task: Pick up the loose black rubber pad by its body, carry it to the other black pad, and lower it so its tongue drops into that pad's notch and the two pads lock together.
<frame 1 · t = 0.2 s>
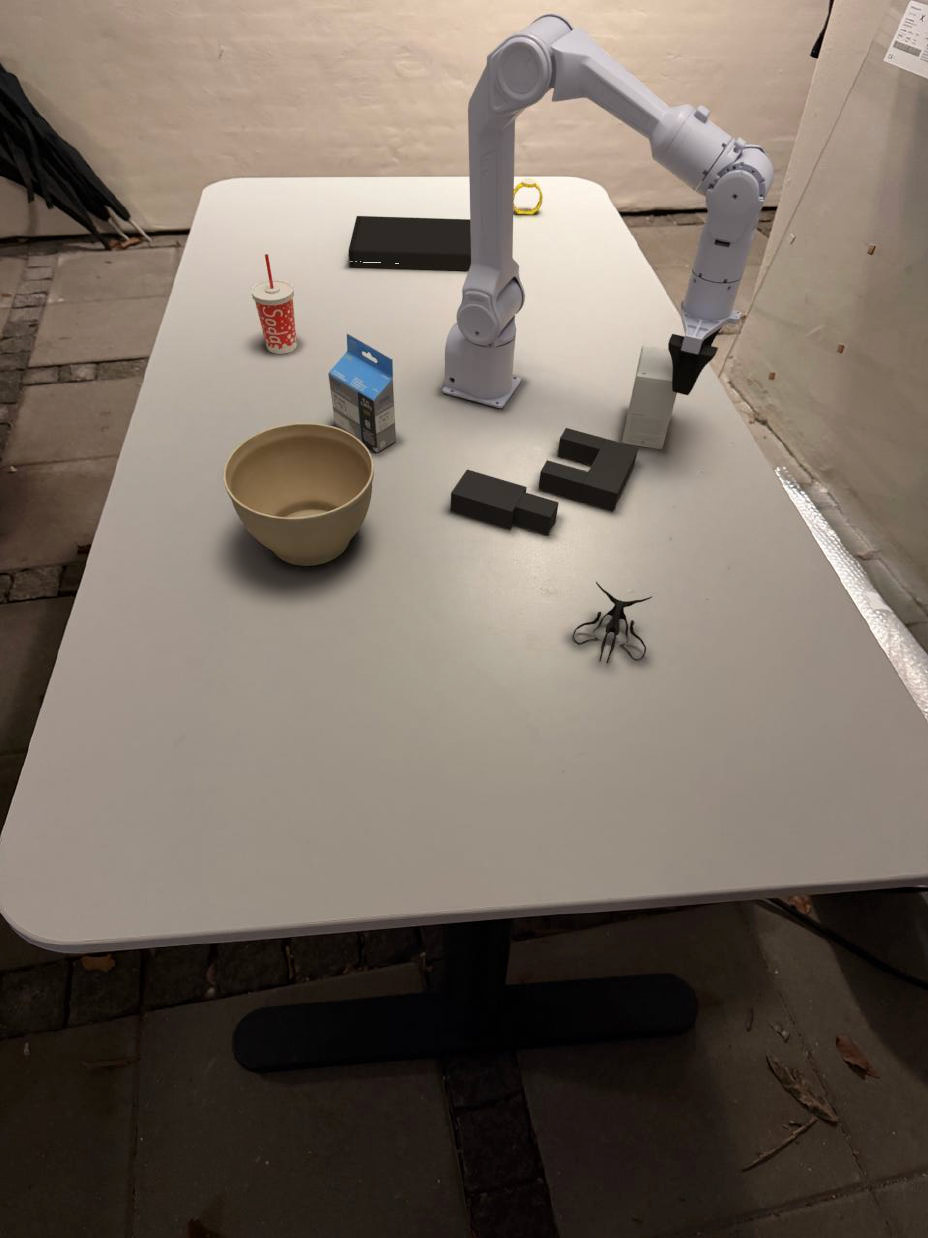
hand: (687, 376, 99), 10 cm above the table, tool pointing down, fingers open, 7 cm apart
small box: (644, 431, 108), on the table
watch: (525, 214, 153), on the table
beverage cup: (282, 346, 120), on the table
black electronic device box: (417, 252, 141), on the table
notch pad: (590, 478, 101), on the table
planter bowl: (311, 540, 92), on the table
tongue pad: (487, 508, 97), on the table
ink cartridge box: (365, 434, 106), on the table
creature: (609, 641, 84), on the table
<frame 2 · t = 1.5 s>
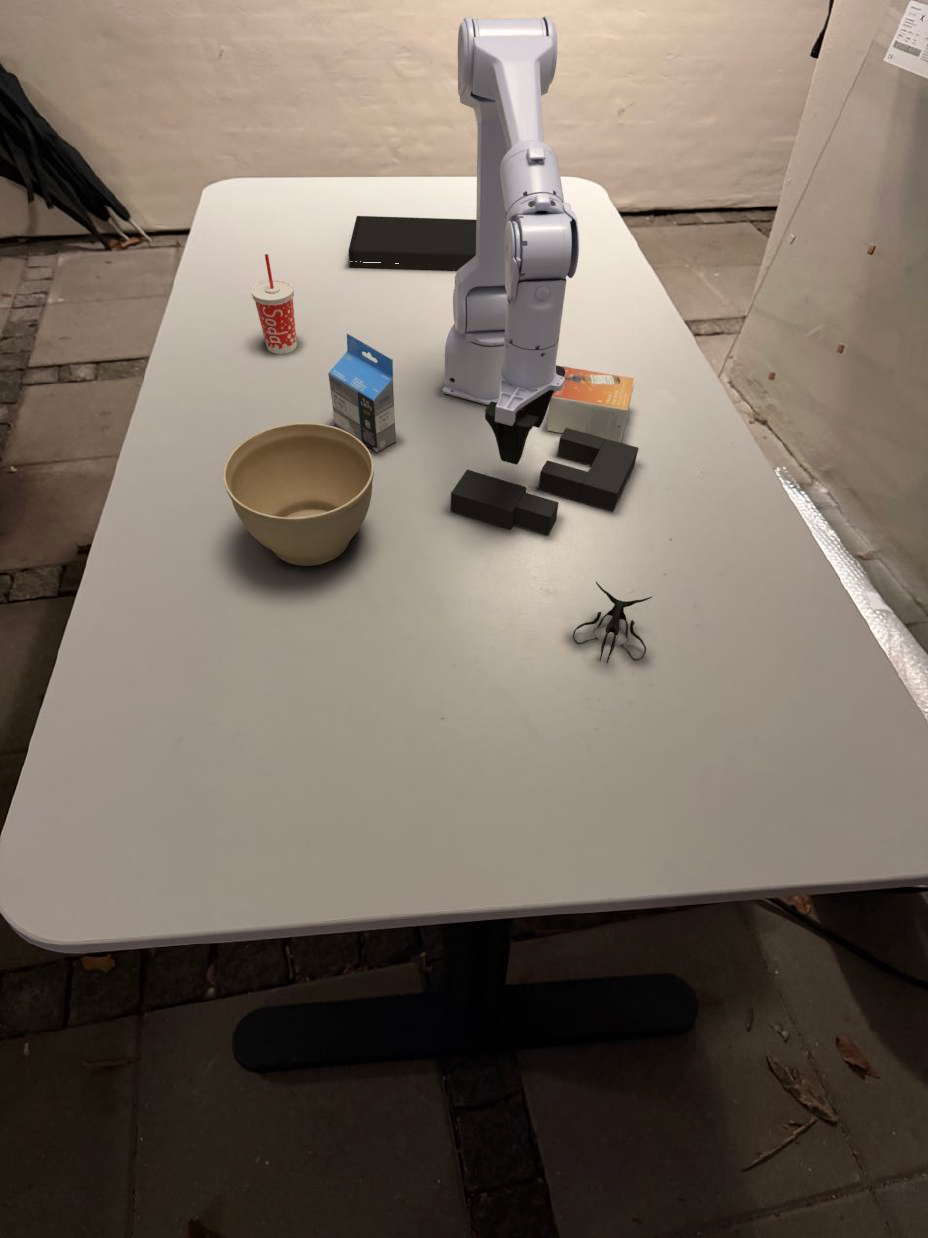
hand: (521, 442, 91), 9 cm above the table, tool pointing down, fingers open, 7 cm apart
small box: (629, 410, 106), point 3 cm above the table
everything else where it was.
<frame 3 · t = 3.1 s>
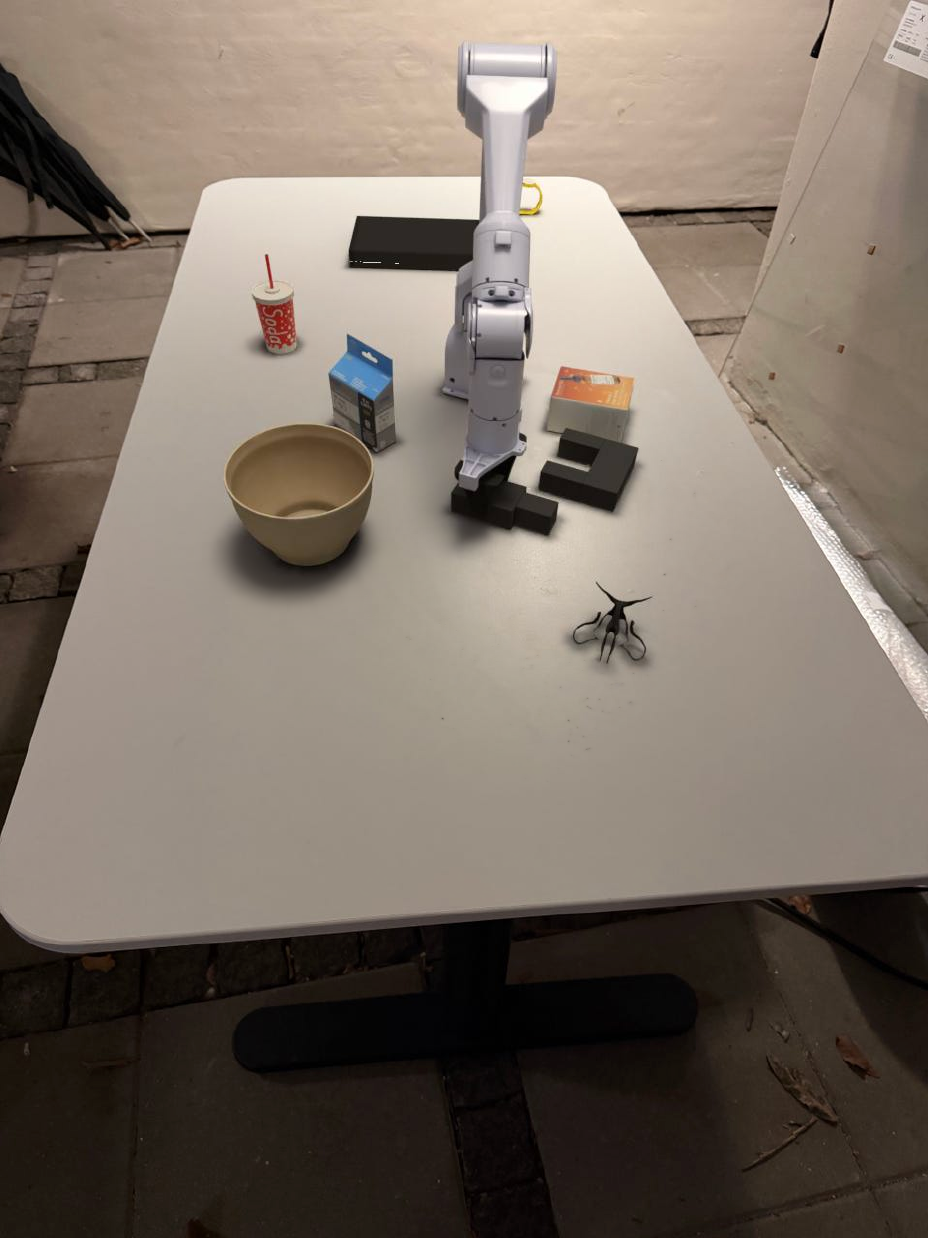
hand: (488, 499, 95), 1 cm above the table, tool pointing down, fingers closed on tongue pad, 5 cm apart
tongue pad: (487, 508, 97), on the table, touching gripper
everything else where it was.
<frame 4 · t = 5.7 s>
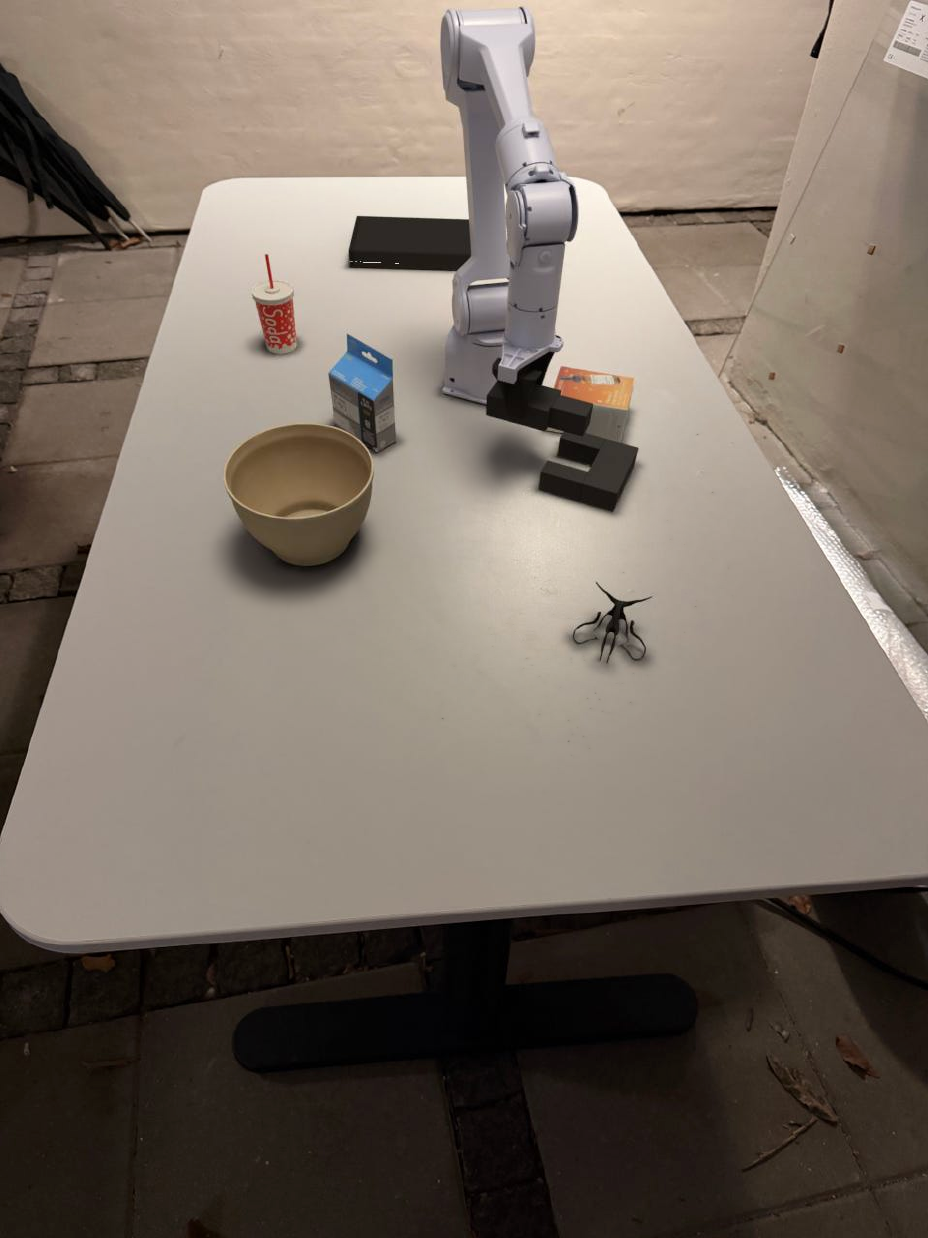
hand: (522, 403, 97), 8 cm above the table, tool pointing down, fingers closed on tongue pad, 5 cm apart
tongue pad: (522, 412, 98), point 7 cm above the table, touching gripper
everything else where it was.
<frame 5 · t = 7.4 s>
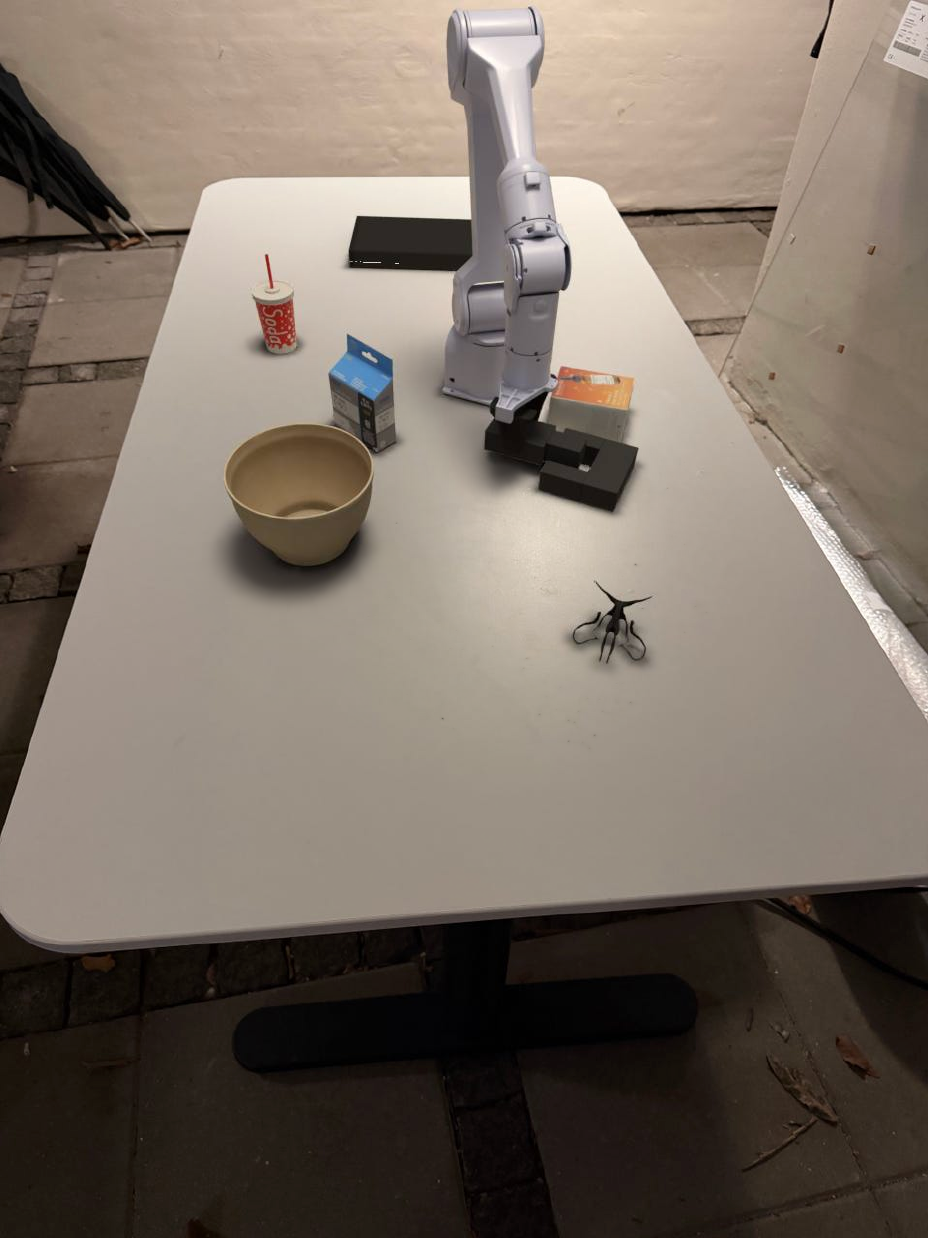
hand: (519, 438, 101), 3 cm above the table, tool pointing down, fingers closed on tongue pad, 5 cm apart
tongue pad: (519, 447, 102), point 2 cm above the table, touching gripper
everything else where it was.
when the fingers open (1 cm above the table, at t = 8.4 s): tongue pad stays where it is, on the table.
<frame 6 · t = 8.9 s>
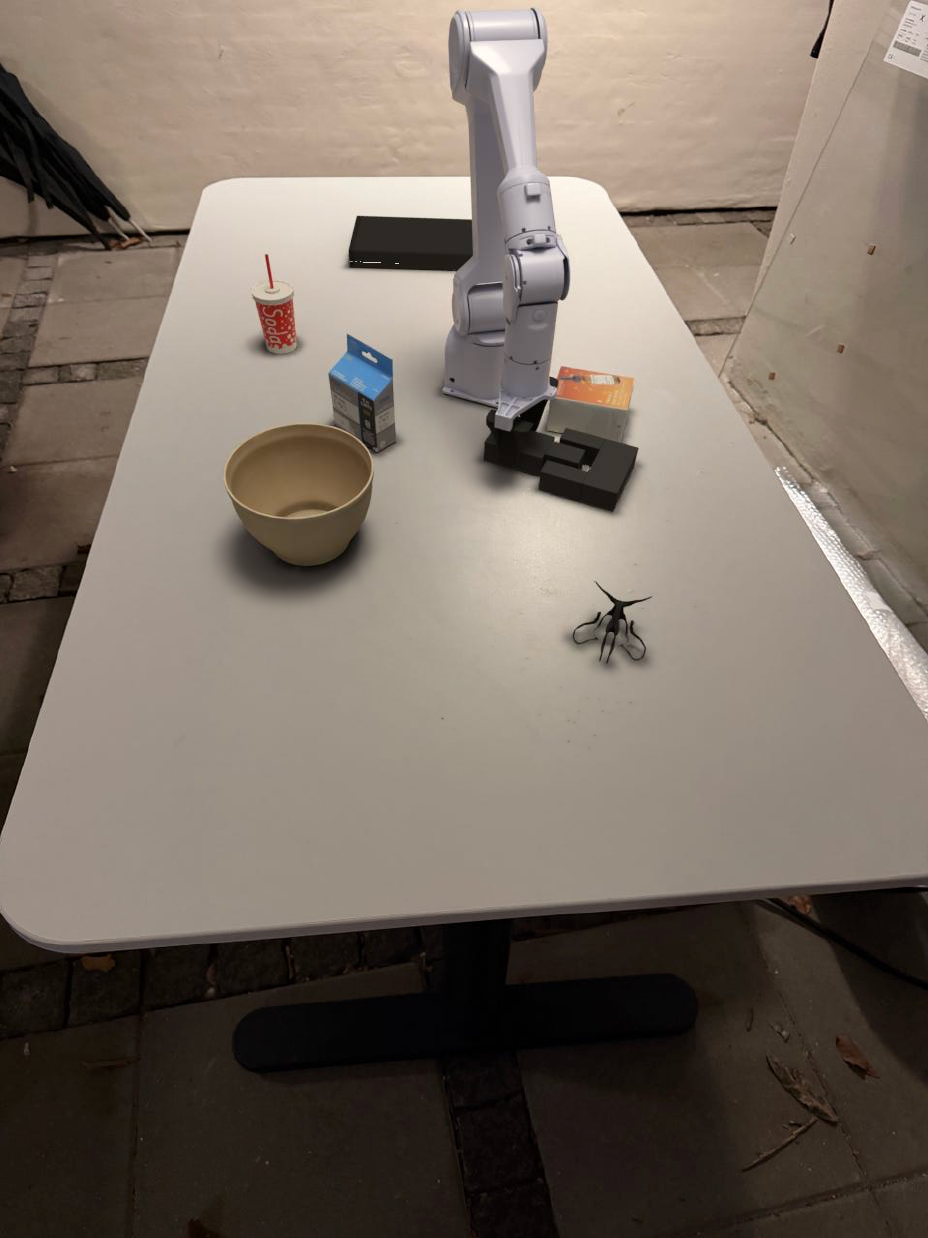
hand: (518, 445, 102), 2 cm above the table, tool pointing down, fingers open, 7 cm apart
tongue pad: (518, 457, 103), on the table
everything else where it was.
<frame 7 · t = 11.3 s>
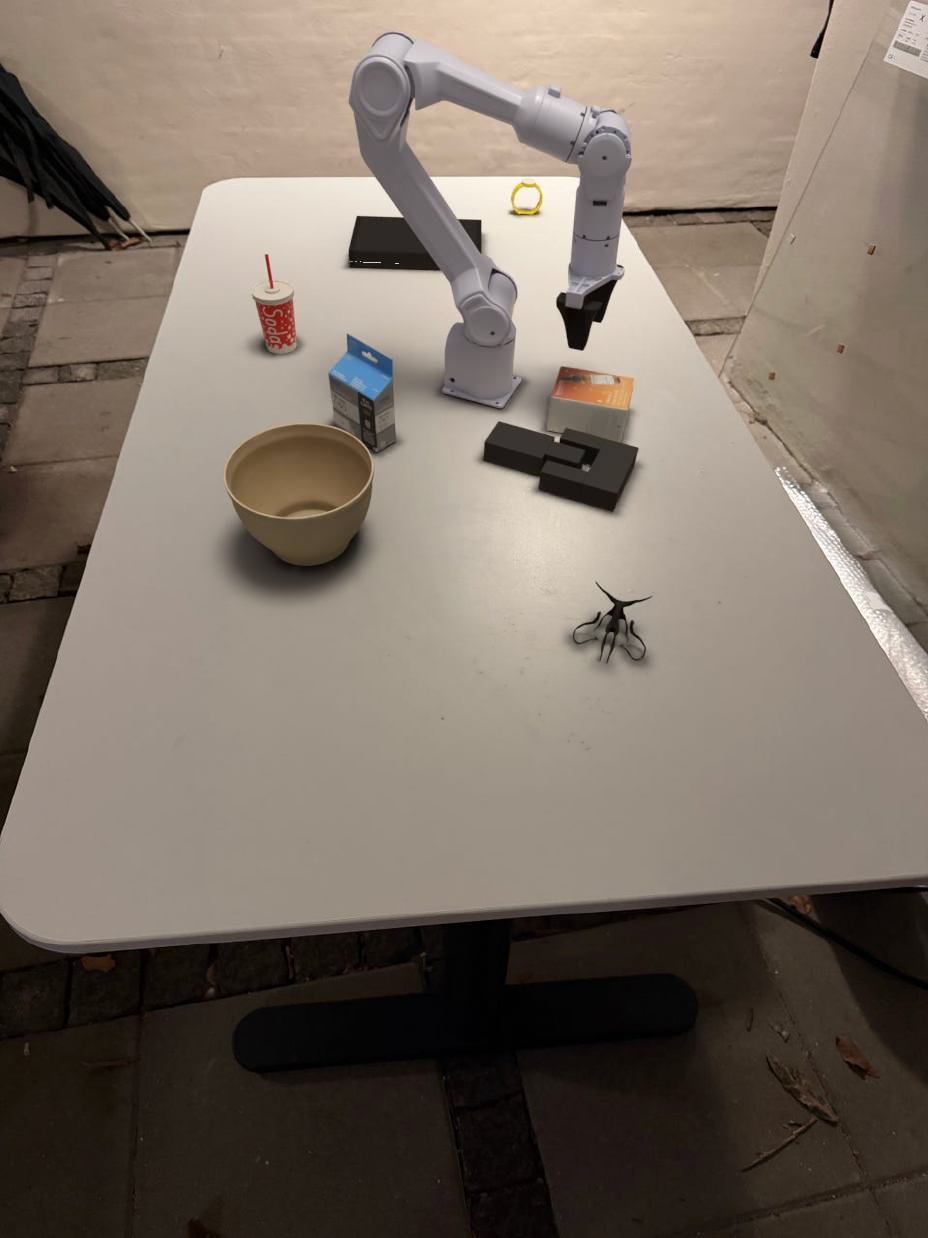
hand: (585, 334, 105), 10 cm above the table, tool pointing down, fingers open, 7 cm apart
nothing on the table moved.
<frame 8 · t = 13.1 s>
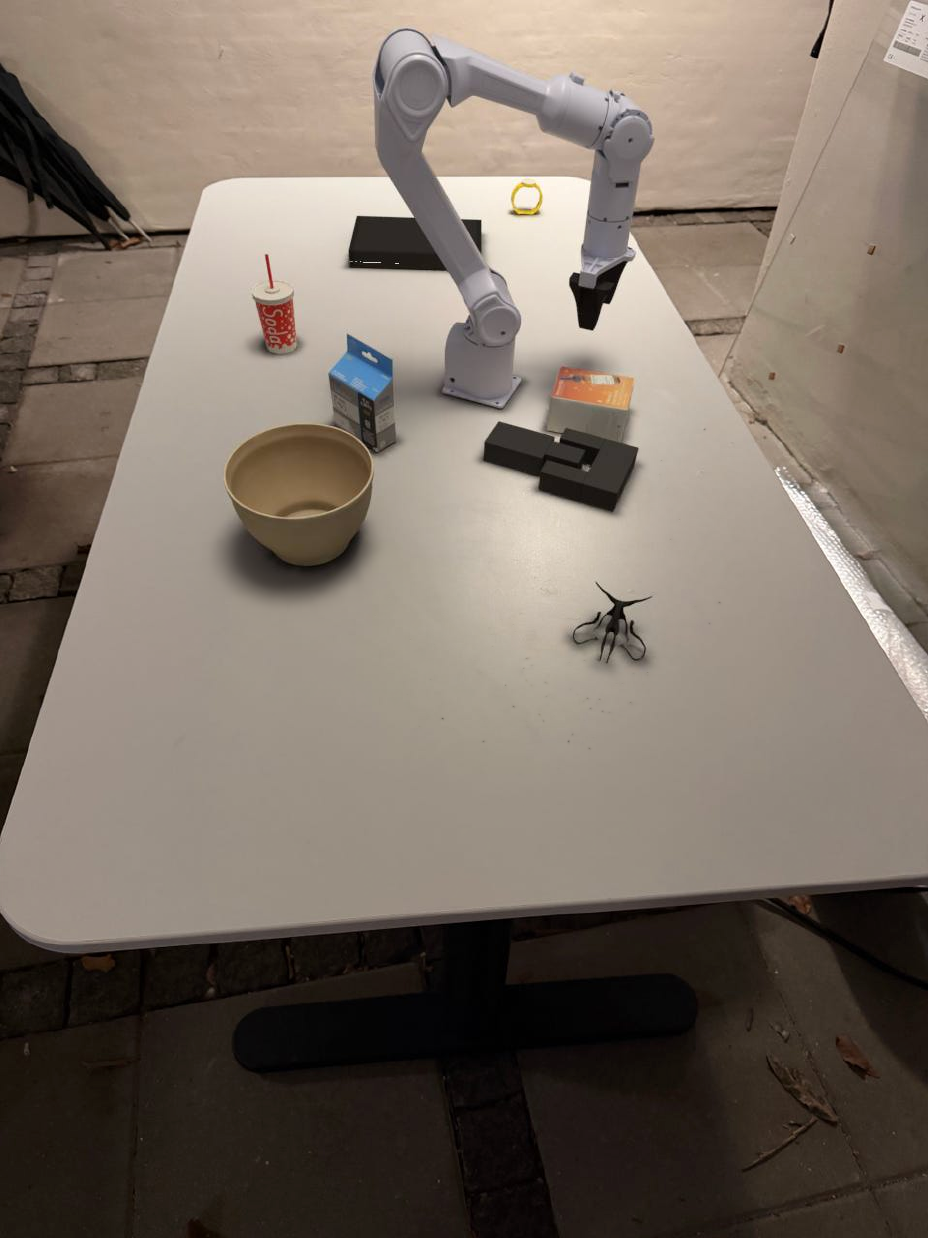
hand: (595, 314, 107), 10 cm above the table, tool pointing down, fingers open, 7 cm apart
nothing on the table moved.
at the end: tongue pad 0.1 cm from the target spot on the table beside the notch pad, on the table; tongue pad tilted 0°; the gripper is holding nothing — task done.
